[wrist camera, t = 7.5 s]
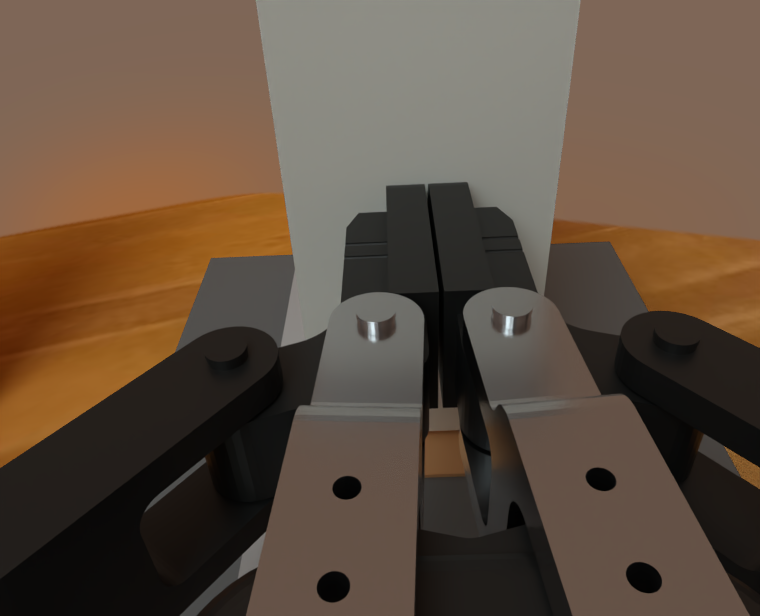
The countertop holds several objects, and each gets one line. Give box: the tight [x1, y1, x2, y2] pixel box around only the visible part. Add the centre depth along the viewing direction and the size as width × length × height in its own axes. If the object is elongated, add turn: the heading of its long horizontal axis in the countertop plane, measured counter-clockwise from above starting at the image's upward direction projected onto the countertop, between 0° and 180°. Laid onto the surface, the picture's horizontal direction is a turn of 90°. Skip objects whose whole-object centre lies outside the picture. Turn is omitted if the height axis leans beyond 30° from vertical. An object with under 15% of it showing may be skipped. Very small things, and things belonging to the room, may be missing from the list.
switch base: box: [145, 242, 741, 616], centre depth 14 cm, size 14×24×2 cm, turn 0°
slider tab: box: [256, 0, 580, 431], centre depth 13 cm, size 6×4×14 cm, turn 90°
